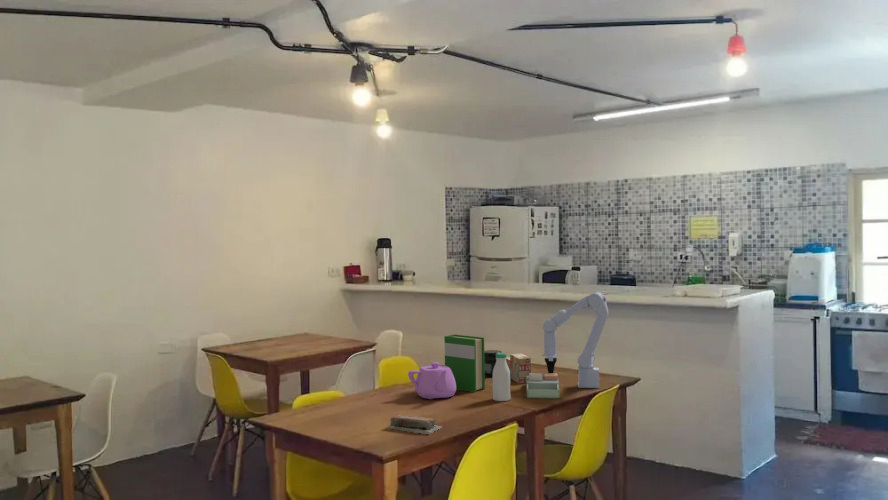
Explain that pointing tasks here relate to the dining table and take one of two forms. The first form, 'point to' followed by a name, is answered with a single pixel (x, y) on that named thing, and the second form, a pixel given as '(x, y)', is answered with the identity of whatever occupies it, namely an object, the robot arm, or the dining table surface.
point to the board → (542, 384)
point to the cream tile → (535, 376)
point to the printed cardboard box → (519, 367)
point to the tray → (543, 393)
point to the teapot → (434, 381)
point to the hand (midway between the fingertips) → (550, 373)
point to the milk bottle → (501, 379)
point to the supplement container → (490, 361)
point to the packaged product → (413, 424)
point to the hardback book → (466, 361)
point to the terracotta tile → (551, 376)
